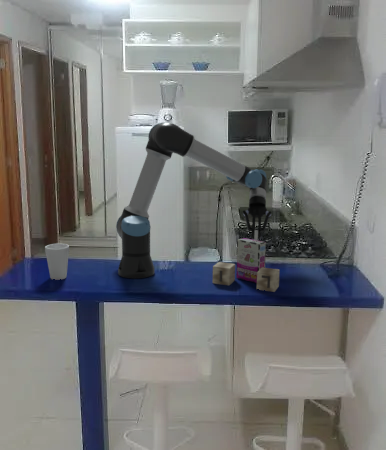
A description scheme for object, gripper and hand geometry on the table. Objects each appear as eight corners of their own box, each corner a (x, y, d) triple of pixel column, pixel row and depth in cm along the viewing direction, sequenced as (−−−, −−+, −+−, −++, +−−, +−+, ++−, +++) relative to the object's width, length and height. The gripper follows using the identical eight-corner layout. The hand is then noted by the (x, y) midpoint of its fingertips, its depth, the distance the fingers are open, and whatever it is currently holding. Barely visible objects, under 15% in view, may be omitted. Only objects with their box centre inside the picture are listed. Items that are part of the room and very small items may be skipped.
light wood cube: (256, 289, 187) (256, 272, 185) (261, 284, 193) (261, 267, 192) (274, 292, 184) (275, 274, 182) (278, 286, 190) (279, 269, 189)
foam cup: (75, 275, 200) (74, 245, 198) (60, 282, 192) (58, 250, 189) (56, 272, 204) (55, 242, 202) (41, 278, 196) (39, 247, 193)
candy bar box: (265, 281, 196) (267, 241, 193) (257, 284, 193) (259, 243, 189) (243, 275, 204) (244, 237, 200) (235, 278, 200) (236, 239, 197)
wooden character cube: (212, 283, 193) (212, 266, 192) (218, 278, 200) (218, 261, 198) (228, 285, 191) (229, 268, 189) (234, 280, 197) (235, 263, 196)
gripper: (271, 205, 223) (270, 249, 210) (243, 204, 225) (240, 248, 212) (272, 195, 217) (271, 240, 204) (243, 194, 219) (240, 239, 206)
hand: (255, 244), depth 208 cm, fingers closed
